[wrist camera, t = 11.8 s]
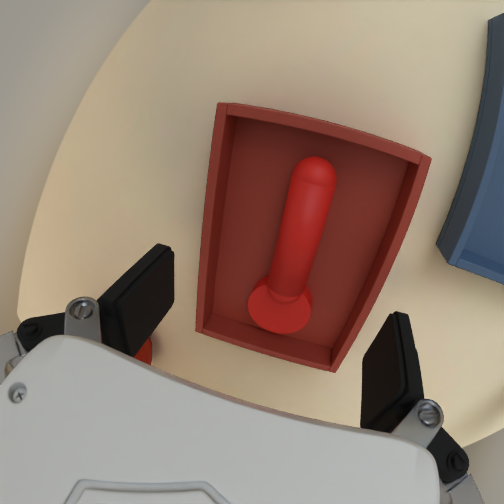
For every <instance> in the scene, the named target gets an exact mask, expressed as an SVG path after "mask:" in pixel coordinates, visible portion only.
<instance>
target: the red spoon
mask: <svg viewBox="0 0 504 504" xmlns="http://www.w3.org/2000/svg"><path fill="white" fill-rule="evenodd" d="M336 183H337V175H336V172H335V170H334V167H333V166H332V165H331V164H330V163H329V162H328V161H327V160H325V159H323V158H321V157H317V156H311V157H306V158H304V159H302V160H301V161H299V162H298V163H297V165H296V166H295V168H294V169H293V173H292V177H291V181H290V186H289V190H288V195H287V199H286V204H285V208H284V213H283V217H282V221H281V226H280V230H279V235H278V239H277V243H276V247H275V252H274V256H273V260H272V265H271V269H270V273H269V275H268V276H266V277H264V278H262V279H260V280H259V281H258V282H257V283H256V284H255V286H254V288H253V290H252V292H251V294H250V296H249V299H248V311H249V314H250V316H251V317H252V319H253V320H254V321H255V322H256V323H257V324H258V325H259V326H260V327H262V328H264V329H265V330H268V331H270V332H274V333H279V334H288V333H293V332H296V331H298V330H300V329H302V328H303V327H304V326H305V325H306V324H307V323H308V321H309V319H310V316H311V311H312V304H313V299H312V295H311V293H310V291H309V289H308V288H307V286H306V284H307V280H308V277H309V274H310V271H311V268H312V265H313V262H314V259H315V256H316V252H317V249H318V246H319V243H320V239H321V236H322V233H323V230H324V226H325V223H326V219H327V216H328V212H329V209H330V205H331V202H332V198H333V195H334V191H335V187H336Z"/></svg>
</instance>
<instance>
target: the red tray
mask: <svg viewBox="0 0 504 504" xmlns="http://www.w3.org/2000/svg"><path fill="white" fill-rule="evenodd" d="M311 156H317V157H321V158H323V159H325V160H327V161H328V162H329V163H330V164H331V165H332V166H333V167H334V170H335V172H336V175H337V183H336V187H335V191H334V195H333V198H332V202H331V205H330V209H329V212H328V216H327V219H326V223H325V226H324V230H323V233H322V236H321V239H320V243H319V246H318V249H317V252H316V256H315V259H314V262H313V265H312V268H311V271H310V274H309V277H308V280H307V284H306V286H307V288H308V289H309V291H310V293H311V295H312V299H313V304H312V311H311V316H310V319H309V321H308V323H307V324H306V325H305V326H304V327H303V328H302V329H300V330H298V331H296V332H293V333H288V334H279V333H274V332H270V331H268V330H265V329H264V328H262V327H260V326H259V325H258V324H257V323H256V322H255V321H254V320H253V319H252V317H251V316H250V314H249V311H248V299H249V296H250V294H251V292H252V290H253V288H254V286H255V284H256V283H257V282H258V281H259V280H260V279H262V278H264V277H266V276H268V275H269V273H270V269H271V265H272V260H273V256H274V252H275V247H276V243H277V239H278V235H279V230H280V226H281V221H282V217H283V213H284V208H285V204H286V199H287V195H288V190H289V186H290V181H291V177H292V173H293V169H294V168H295V166H296V165H297V163H298V162H299V161H301V160H302V159H304V158H306V157H311ZM431 160H432V159H431V158H430V157H429V156H427V155H425V154H423V153H421V152H419V151H417V150H415V149H412V148H409V147H407V146H404V145H401V144H399V143H396V142H393V141H390V140H387V139H384V138H382V137H379V136H375V135H372V134H369V133H366V132H363V131H360V130H356V129H353V128H350V127H346V126H342V125H339V124H335V123H331V122H328V121H324V120H320V119H316V118H312V117H307V116H303V115H298V114H294V113H289V112H284V111H279V110H274V109H269V108H263V107H257V106H251V105H245V104H238V103H217V109H216V116H215V123H214V130H213V137H212V145H211V153H210V161H209V169H208V178H207V186H206V196H205V205H204V215H203V226H202V237H201V249H200V262H199V275H198V291H197V308H196V328H195V331H196V332H199V333H203V334H205V335H208V336H210V337H213V338H216V339H219V340H222V341H225V342H228V343H231V344H234V345H237V346H240V347H243V348H246V349H250V350H253V351H256V352H259V353H263V354H266V355H269V356H273V357H276V358H280V359H283V360H287V361H290V362H294V363H298V364H301V365H305V366H309V367H313V368H317V369H321V370H325V371H329V372H333V373H336V371H337V369H338V368H339V366H340V364H341V363H342V361H343V359H344V358H345V356H346V354H347V353H348V351H349V349H350V348H351V346H352V344H353V342H354V341H355V339H356V337H357V335H358V333H359V332H360V330H361V328H362V326H363V324H364V322H365V321H366V319H367V317H368V315H369V313H370V311H371V309H372V307H373V305H374V303H375V301H376V299H377V297H378V295H379V293H380V291H381V289H382V287H383V285H384V283H385V281H386V279H387V276H388V274H389V272H390V270H391V268H392V265H393V263H394V261H395V259H396V256H397V254H398V252H399V249H400V247H401V245H402V242H403V240H404V237H405V235H406V232H407V230H408V227H409V225H410V222H411V219H412V217H413V214H414V211H415V209H416V206H417V203H418V200H419V197H420V194H421V191H422V188H423V185H424V182H425V179H426V176H427V173H428V170H429V166H430V163H431Z"/></svg>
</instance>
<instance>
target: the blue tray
mask: <svg viewBox="0 0 504 504" xmlns="http://www.w3.org/2000/svg"><path fill="white" fill-rule="evenodd" d="M436 245H437V247H438V248H439V250H440V252H441V253H442V255H443V257H444V258H445V260H446V262H447V263H448V264H450V265H453V266H455V267H458V268H461V269H464V270H466V271H469V272H472V273H475V274H477V275H480V276H483V277H485V278H488V279H491V280H493V281H496V282H499V283H501V284H504V13H503V14H500V15H498V16H496V17H494V18H492V19H489V22H488V46H487V58H486V68H485V76H484V83H483V90H482V96H481V102H480V107H479V112H478V117H477V122H476V126H475V131H474V135H473V139H472V143H471V147H470V150H469V154H468V157H467V161H466V164H465V168H464V171H463V174H462V177H461V180H460V183H459V186H458V189H457V192H456V195H455V198H454V201H453V203H452V206H451V209H450V211H449V214H448V217H447V219H446V222H445V224H444V227H443V229H442V231H441V234H440V236H439V238H438V241H437V243H436Z"/></svg>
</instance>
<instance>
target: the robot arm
mask: <svg viewBox="0 0 504 504" xmlns="http://www.w3.org/2000/svg"><path fill="white" fill-rule="evenodd" d="M173 303H174V252H173V251H171V247H169V246H166V245H162V244H156V245H155V246H154V247H153V248H152V249H151V250H150V251H148V252H147V253H146V254H145V255H144V256H143V257H142V258H141V259H140V260H139V261H137V262H136V263H135V264H134V265H133V266H132V267H131V268H130V269H129V270H128V271H127V272H125V273H124V274H123V275H122V276H121V277H120V278H119V279H118V280H117V281H116V282H115V283H114V284H113V285H112V286H111V287H110V288H109V289H108V290H107V291H106V292H105V293H104V294H103V295H102V296H101V297H100V298H99V299H98V300H97V301H96V300H95V299H93V298H90V297H79V298H76V299H74V300H72V301H71V302H70V303H69V304H68V305H67V307H66V310H65V312H64V313H58V314H52V315H46V316H40V317H34V318H29V319H27V320H25V321H23V322H22V323H21V324H20V325H19V327H18V329H17V332H16V333H14V332H13V331H10V332H8V333H6V334H3V335H1V336H0V504H484V502H483V499H482V497H481V495H480V492H479V490H478V488H477V486H476V484H475V482H474V480H473V477H472V475H471V474H469V475H468V474H467V470H468V467H469V459H468V456H467V454H466V453H465V451H464V450H463V449H462V448H461V447H460V446H459V445H458V444H457V443H456V442H455V441H454V439H453V438H452V437H451V436H450V435H449V434H448V433H447V432H446V431H445V430H444V429H443V428H442V427H441V426H442V424H443V422H444V415H443V411H442V409H441V407H440V406H439V405H438V404H437V403H436V402H435V401H433V400H430V399H424V392H423V385H422V378H421V371H420V365H419V359H418V353H417V350H416V348H415V344H414V339H413V334H412V329H411V324H410V320H409V316H408V314H405V313H401V312H397V311H395V312H394V313H393V314H389V316H388V317H387V319H386V321H385V322H384V324H383V326H382V328H381V329H380V331H379V333H378V334H377V336H376V337H375V339H374V341H373V342H372V344H371V345H370V347H369V349H368V350H367V352H366V353H365V355H364V357H363V361H362V400H361V420H360V427H361V428H357V427H351V426H346V425H341V424H336V423H331V422H326V421H321V420H316V419H311V418H307V417H303V416H298V415H294V414H290V413H286V412H283V411H279V410H275V409H271V408H268V407H264V406H261V405H257V404H254V403H250V402H247V401H244V400H241V399H238V398H235V397H231V396H228V395H225V394H222V393H220V392H217V391H214V390H211V389H208V388H205V387H203V386H200V385H197V384H195V383H192V382H189V381H187V380H184V379H182V378H179V377H177V376H174V375H172V374H169V373H167V372H165V371H162V370H160V369H158V368H155V367H153V366H151V365H148V364H146V363H144V362H142V361H139V360H137V359H135V358H133V357H135V356H136V354H137V353H138V352H139V350H140V349H141V347H142V346H143V345H144V343H145V342H146V341H147V339H148V338H149V336H150V335H151V334H152V332H153V331H154V330H155V328H156V327H157V326H158V324H159V323H160V322H161V320H162V319H163V318H164V316H165V315H166V313H167V312H168V311H169V309H170V308H171V307H172V305H173Z"/></svg>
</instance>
